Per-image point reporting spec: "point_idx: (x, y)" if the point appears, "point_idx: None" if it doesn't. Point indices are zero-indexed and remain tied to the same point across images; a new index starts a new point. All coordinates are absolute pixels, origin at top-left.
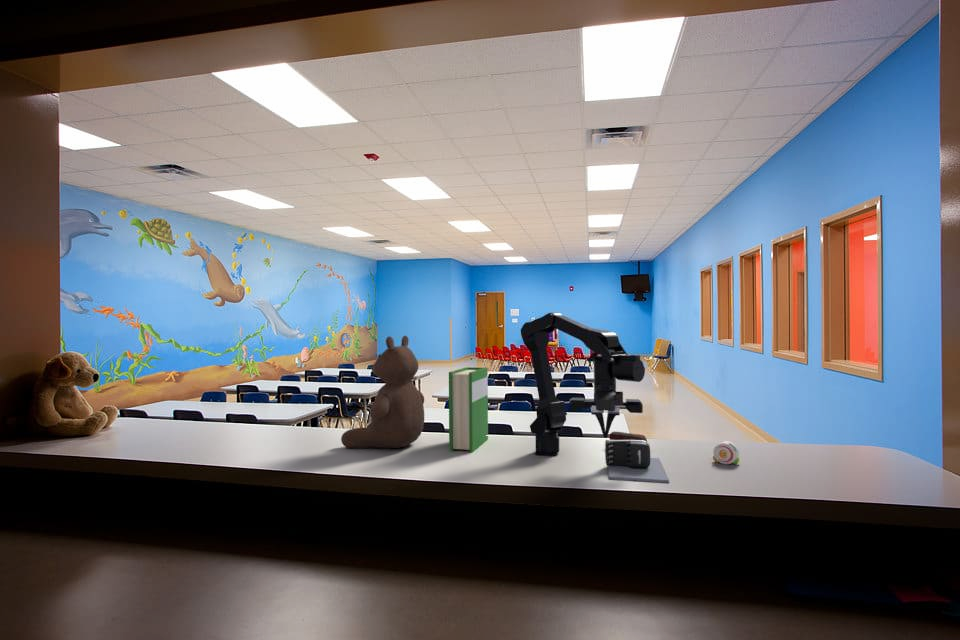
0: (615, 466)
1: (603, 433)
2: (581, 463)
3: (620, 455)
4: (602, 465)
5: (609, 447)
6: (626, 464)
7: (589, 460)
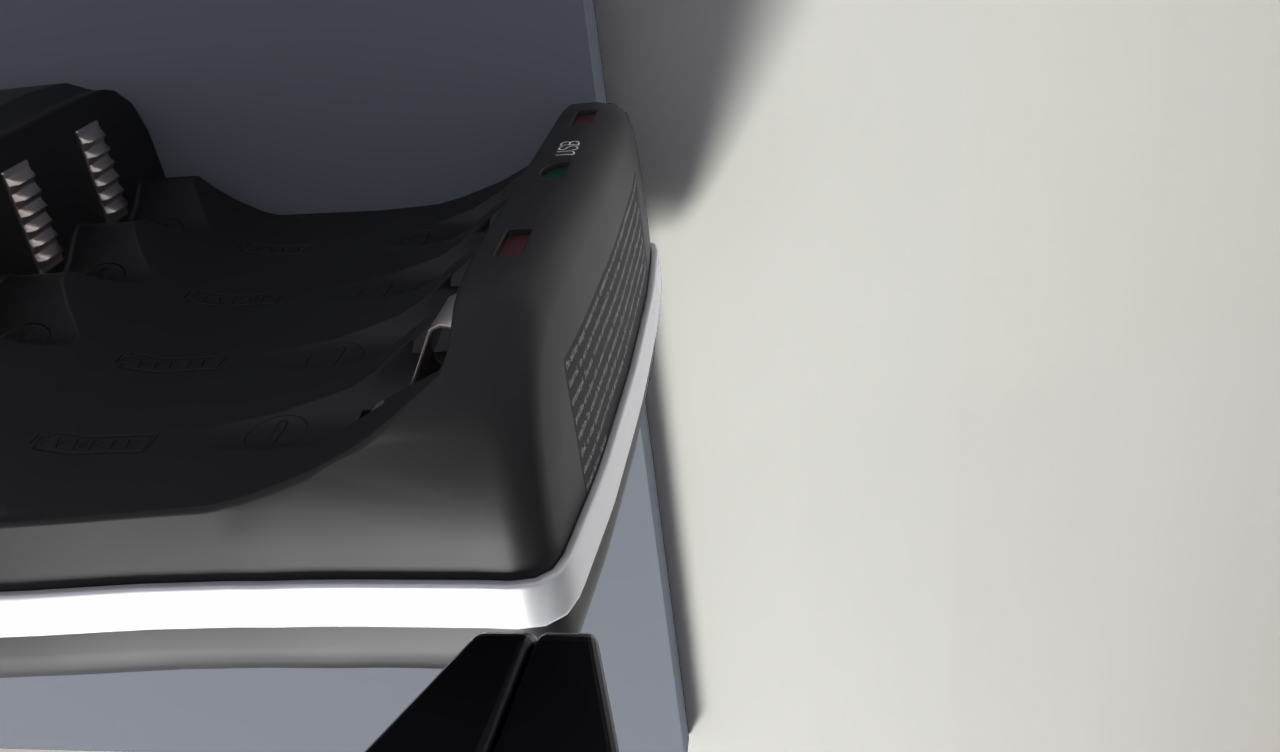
0: (455, 179)
1: (580, 745)
2: (1180, 367)
3: (264, 308)
4: (744, 326)
5: (446, 304)
6: (213, 203)
7: (999, 571)
